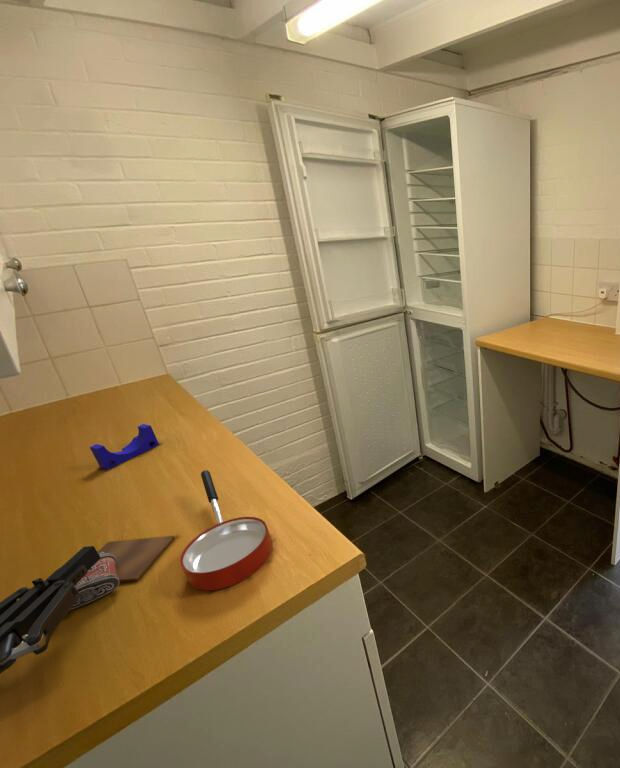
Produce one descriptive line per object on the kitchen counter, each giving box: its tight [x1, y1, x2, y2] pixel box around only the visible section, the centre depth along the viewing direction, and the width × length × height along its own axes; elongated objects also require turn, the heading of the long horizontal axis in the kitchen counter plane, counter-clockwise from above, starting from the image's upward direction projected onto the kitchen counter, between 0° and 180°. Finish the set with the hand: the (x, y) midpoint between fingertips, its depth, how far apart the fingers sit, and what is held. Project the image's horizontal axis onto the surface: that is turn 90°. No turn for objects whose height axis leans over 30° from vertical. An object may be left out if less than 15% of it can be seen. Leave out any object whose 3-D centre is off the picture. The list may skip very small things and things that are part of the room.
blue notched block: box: [89, 423, 160, 471], centre depth 108 cm, size 12×4×6 cm, turn 159°
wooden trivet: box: [97, 535, 176, 584], centre depth 75 cm, size 12×10×1 cm
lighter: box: [57, 552, 121, 611], centre depth 70 cm, size 8×3×10 cm
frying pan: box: [179, 469, 274, 591], centre depth 80 cm, size 32×13×6 cm, turn 46°
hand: (92, 552), depth 68 cm, fingers closed
